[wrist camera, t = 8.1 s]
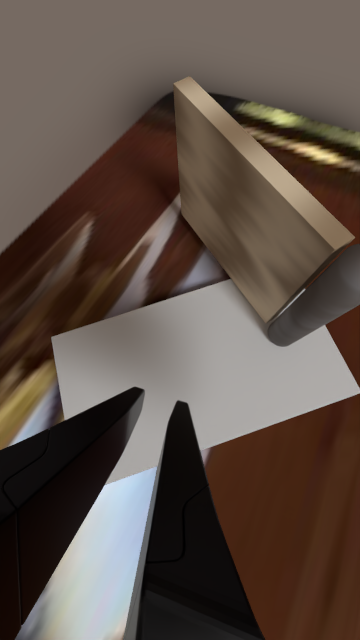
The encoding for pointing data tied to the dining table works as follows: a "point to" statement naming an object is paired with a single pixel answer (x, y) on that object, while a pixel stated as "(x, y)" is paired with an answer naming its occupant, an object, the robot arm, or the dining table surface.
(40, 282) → the dining table surface
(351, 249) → the door
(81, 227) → the dining table surface
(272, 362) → the board
